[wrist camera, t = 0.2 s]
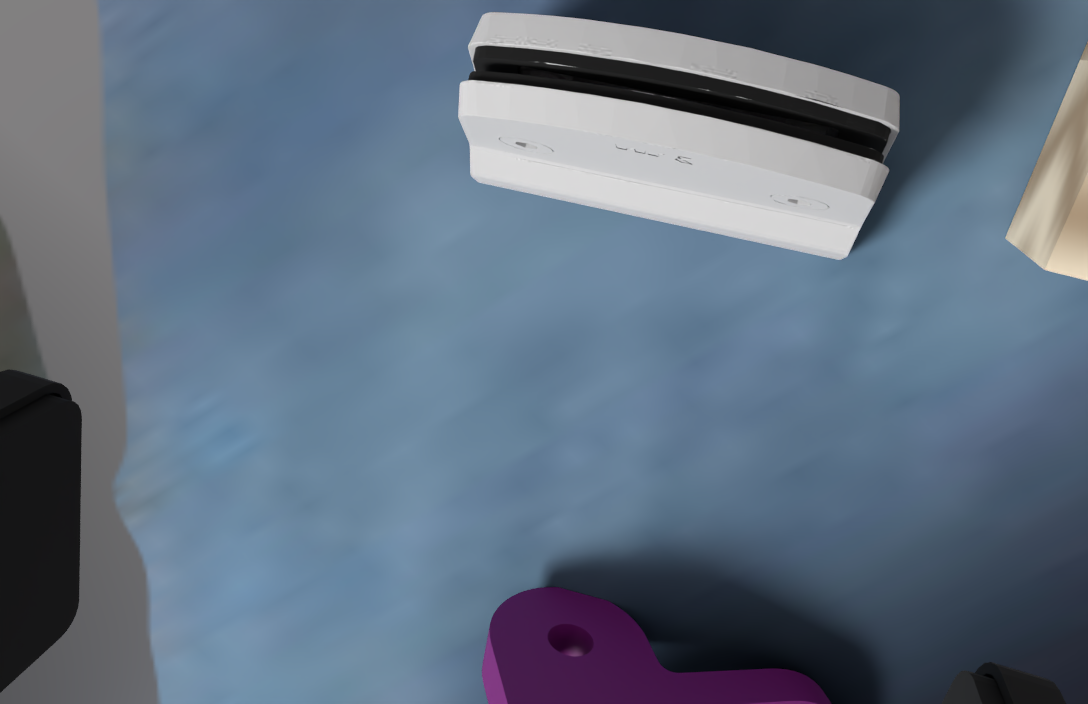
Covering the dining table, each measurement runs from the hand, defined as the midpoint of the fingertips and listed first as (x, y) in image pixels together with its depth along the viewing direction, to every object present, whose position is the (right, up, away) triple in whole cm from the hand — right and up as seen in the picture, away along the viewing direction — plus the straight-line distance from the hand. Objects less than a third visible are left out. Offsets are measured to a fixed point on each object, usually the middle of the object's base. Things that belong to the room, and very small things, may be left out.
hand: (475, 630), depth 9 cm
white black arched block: (+6, +12, +28) cm, 31 cm away
